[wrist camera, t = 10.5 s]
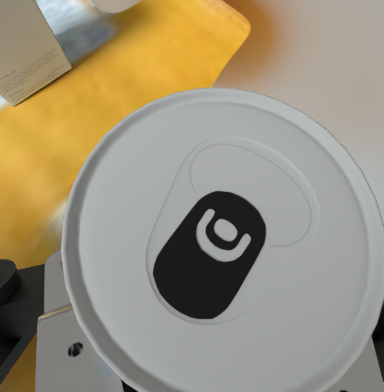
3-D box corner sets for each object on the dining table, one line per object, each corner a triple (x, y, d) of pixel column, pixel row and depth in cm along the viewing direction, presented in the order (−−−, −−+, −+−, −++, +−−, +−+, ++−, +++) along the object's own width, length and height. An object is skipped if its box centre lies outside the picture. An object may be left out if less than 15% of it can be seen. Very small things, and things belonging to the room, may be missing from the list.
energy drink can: (238, 246, 18) (474, 182, 4) (194, 316, 17) (322, 641, 2) (176, 202, 19) (184, 9, 5) (128, 265, 17) (-94, 275, 3)
